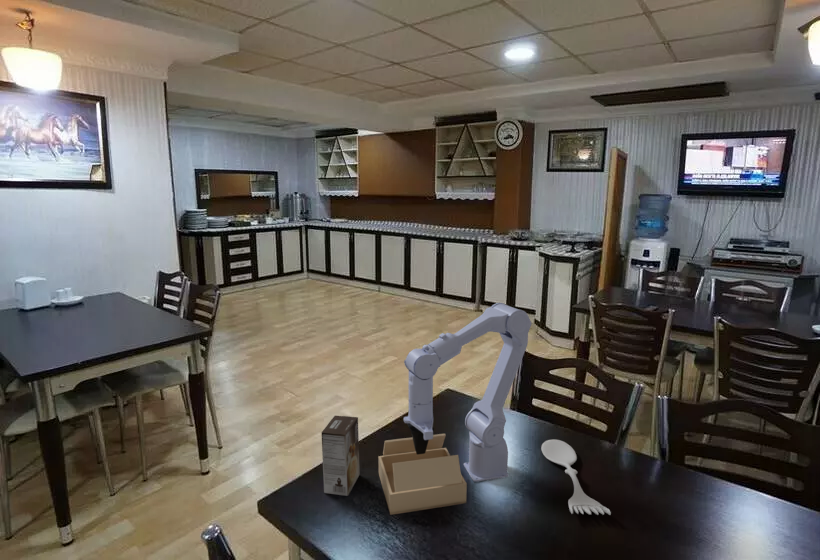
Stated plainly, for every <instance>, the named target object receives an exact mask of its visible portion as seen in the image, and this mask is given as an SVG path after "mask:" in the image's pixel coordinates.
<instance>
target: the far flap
mask: <svg viewBox="0 0 820 560" xmlns="http://www.w3.org/2000/svg"><path fill="white" fill-rule="evenodd" d="M445 439H446V433H439V434H438V433H437V434H433V439H430V440H429V441H428V445H427V449H426V450H433V449H441V448H443V445H444V442H445ZM409 452H416V451H415V447H414V442H413V437H406V438H405V437H404V438H396V439H388V440H384V444H383V451H382V454H383V455H382V456H385V455H393V454H401V453H409Z"/></svg>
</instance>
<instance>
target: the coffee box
mask: <svg viewBox="0 0 820 560" xmlns="http://www.w3.org/2000/svg"><path fill="white" fill-rule="evenodd" d="M359 440H360V439H359V416H358V417H357V416H347V415H334V416H333V417H332V419H331V420H330V421H329V422H328V424H326V426H325V427H324V429H322V431H321V449H322V450H321V451H322V452H321V454H322V472H323V493H324V494H329V495H330V494H331V495H337V496H338V495H339V496H346V497H347V496H349V495H350V494H351V491H352V490H353V487H354V486H355V484H356V482H357V480H358V478H359V476H360V475H361V474H360V450H359V449H360V448H359V447H360V445H359V444H360V441H359Z"/></svg>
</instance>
